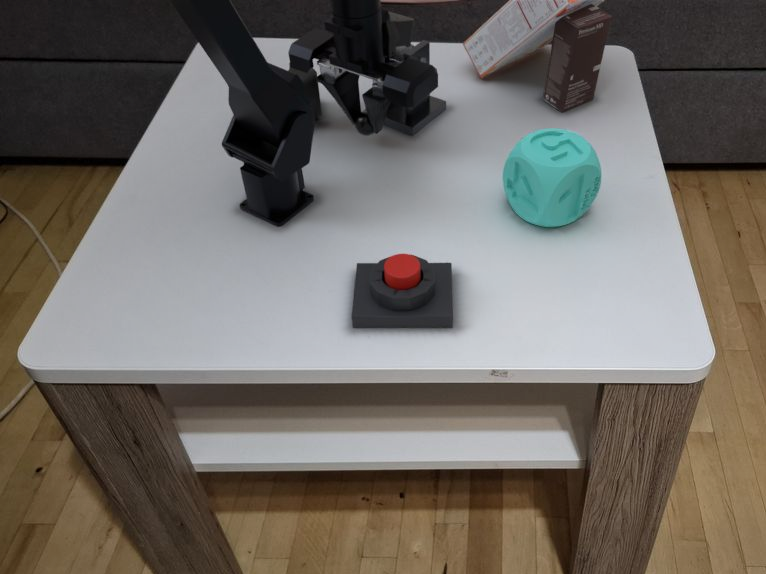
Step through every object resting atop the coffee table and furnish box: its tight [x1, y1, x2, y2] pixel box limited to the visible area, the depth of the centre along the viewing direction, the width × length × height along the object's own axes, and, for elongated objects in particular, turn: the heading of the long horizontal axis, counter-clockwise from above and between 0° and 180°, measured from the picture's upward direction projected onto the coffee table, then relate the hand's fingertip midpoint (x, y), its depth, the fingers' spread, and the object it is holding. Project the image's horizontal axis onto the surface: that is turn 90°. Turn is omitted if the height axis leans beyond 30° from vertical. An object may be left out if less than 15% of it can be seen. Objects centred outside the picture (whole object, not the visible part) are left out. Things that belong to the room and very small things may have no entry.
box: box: [542, 4, 613, 113], centre depth 99 cm, size 6×4×12 cm
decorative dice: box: [502, 128, 602, 228], centre depth 85 cm, size 8×8×8 cm
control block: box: [351, 254, 454, 329], centre depth 77 cm, size 10×8×4 cm
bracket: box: [363, 39, 447, 137], centre depth 99 cm, size 8×8×10 cm
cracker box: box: [462, 0, 605, 79], centre depth 102 cm, size 14×6×21 cm
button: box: [384, 253, 421, 290], centre depth 75 cm, size 4×4×2 cm
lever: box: [354, 43, 415, 137], centre depth 96 cm, size 13×3×3 cm
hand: (367, 128), depth 96 cm, fingers closed on lever, 3 cm apart
